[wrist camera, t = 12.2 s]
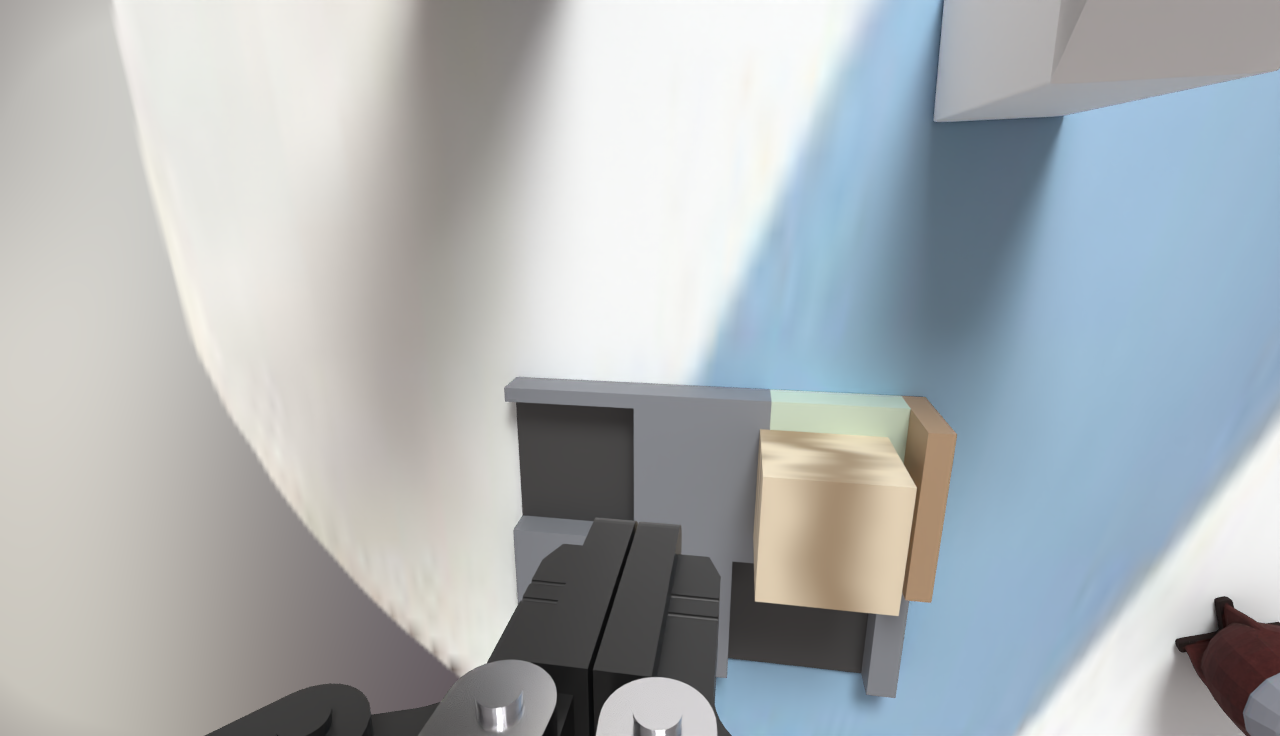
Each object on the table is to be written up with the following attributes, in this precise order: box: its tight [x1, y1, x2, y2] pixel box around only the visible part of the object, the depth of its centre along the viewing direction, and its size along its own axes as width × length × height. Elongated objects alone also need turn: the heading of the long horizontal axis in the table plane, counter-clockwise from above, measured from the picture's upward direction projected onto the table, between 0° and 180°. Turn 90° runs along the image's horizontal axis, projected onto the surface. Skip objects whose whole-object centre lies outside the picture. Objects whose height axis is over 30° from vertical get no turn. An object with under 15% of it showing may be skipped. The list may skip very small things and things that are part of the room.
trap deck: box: [504, 377, 957, 698], centre depth 43 cm, size 28×22×6 cm
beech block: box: [753, 429, 917, 616], centre depth 38 cm, size 8×8×7 cm
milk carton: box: [934, 0, 1280, 122], centre depth 26 cm, size 7×7×19 cm
